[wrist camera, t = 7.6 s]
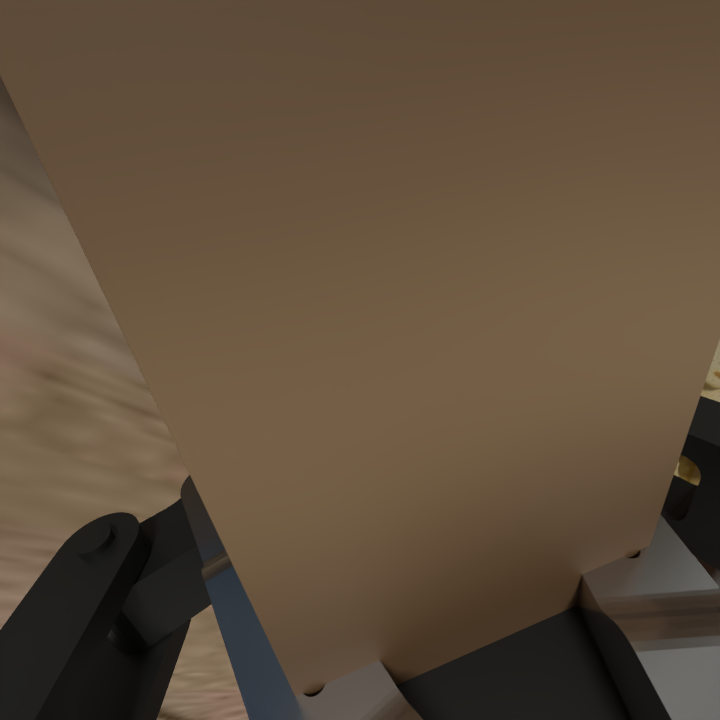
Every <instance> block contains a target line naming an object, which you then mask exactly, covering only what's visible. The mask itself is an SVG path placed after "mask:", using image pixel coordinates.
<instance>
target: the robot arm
mask: <svg viewBox="0 0 720 720" xmlns="http://www.w3.org/2000/svg"><path fill="white" fill-rule="evenodd" d="M681 455H683V456H685V457H687V458H688V459H690V460H691V461H692V462H693V463H694V464H695V465H696V466H697V467H698V469H699V471H700V474H701V478H700V482H699V484H698V485H695V484H692V483H690V482H688V481H686V480H684V479H682V478H680V477H678V476H676V475H673V478H672V481H671V484H670V487H669V490H668V493H667V496H666V499H665V502H664V505H663V508H662V511H661V514H660V517H659V520H658V523H657V526H656V529H655V532H654V534H653V537H652V540H651V543H650V546H647V547H645V548H643V549H640V551H639V554H638V557H637V558H627V557H621V558H619V559H617V560H614V561H612V562H610V563H607V564H605V565H603V566H600V567H598V568H596V569H593V570H591V571H589V572H586V573H584V574H582V578H581V582H580V587H579V591H578V596H577V600H576V601H577V603H578V605H576V606H574V607H572V608H570V609H567V610H565V611H563V612H561V613H558V614H556V615H554V616H552V617H549V618H547V619H545V620H543V621H540V622H538V623H536V624H534V625H531V626H529V627H527V628H525V629H522V630H520V631H518V632H515V633H513V634H511V635H509V636H506V637H504V638H502V639H500V640H497V641H495V642H493V643H491V644H488V645H486V646H484V647H482V648H479V649H477V650H475V651H473V652H470V653H468V654H466V655H464V656H461V657H459V658H457V659H454V660H452V661H450V662H448V663H445V664H443V665H441V666H439V667H436V668H434V669H432V670H430V671H427V672H425V673H423V674H421V675H418V676H416V677H414V678H412V679H409V680H407V681H405V682H403V683H400V684H398V685H395V683H394V682H393V680H392V678H391V677H390V675H389V674H388V672H387V671H386V669H385V668H384V666H383V664H382V663H381V661H378V662H375V663H373V664H370V665H368V666H366V667H363V668H361V669H359V670H356V671H354V672H352V673H349V674H347V675H345V676H342V677H340V678H338V679H335V680H333V681H331V682H328V683H326V684H325V686H324V688H323V690H322V691H321V692H320V693H319V694H318V695H316V696H313V697H308V696H306V695H304V694H303V693H302V694H300V695H298V696H295V695H294V693H293V691H292V688H291V686H290V684H289V682H288V680H287V678H286V676H285V674H284V672H283V670H282V667H281V665H280V663H279V661H278V659H277V657H276V655H275V653H274V651H273V648H272V646H271V644H270V642H269V640H268V638H267V636H266V634H265V632H264V630H263V627H262V625H261V623H260V621H259V619H258V617H257V615H256V613H255V611H254V609H253V606H252V604H251V602H250V600H249V598H248V596H247V594H246V592H245V590H244V587H243V585H242V583H241V581H240V579H239V577H238V575H237V573H236V571H235V569H234V566H233V564H232V562H231V560H230V558H229V556H228V554H227V552H226V550H225V547H224V545H223V543H222V541H221V539H220V537H219V535H218V533H217V531H216V529H215V526H214V524H213V522H212V520H211V518H210V516H209V514H208V512H207V510H206V508H205V505H204V503H203V501H202V499H201V497H200V495H199V493H198V491H197V489H196V486H195V484H194V482H193V480H192V478H191V476H190V475H189V476H188V477H187V478H186V480H185V481H184V483H183V485H182V488H181V493H180V495H181V498H180V499H179V500H178V501H177V502H175V503H174V504H173V505H171V506H170V507H168V508H166V509H165V510H163V511H161V512H159V513H157V514H156V515H154V516H152V517H150V518H148V519H147V520H145V521H143V522H141V523H139V522H138V520H137V519H136V517H135V516H133V515H132V514H129V513H124V512H121V513H112V514H108V515H105V516H102V517H100V518H98V519H96V520H94V521H92V522H90V523H88V524H87V525H85V526H83V527H82V528H81V529H79V530H78V531H77V532H75V533H74V534H73V535H72V536H71V537H70V538H69V539H68V540H67V541H66V542H65V543H64V544H63V545H62V547H61V548H60V549H59V550H58V552H57V553H56V555H55V556H54V557H53V559H52V560H51V561H50V563H49V564H48V566H47V567H46V568H45V570H44V571H43V572H42V574H41V575H40V576H39V578H38V579H37V581H36V582H35V583H34V585H33V586H32V587H31V589H30V590H29V592H28V593H27V594H26V596H25V597H24V598H23V600H22V601H21V602H20V604H19V605H18V607H17V608H16V609H15V611H14V612H13V613H12V615H11V616H10V618H9V619H8V620H7V622H6V623H5V624H4V626H3V627H2V628H1V630H0V720H156V719H157V716H158V714H159V711H160V708H161V705H162V702H163V699H164V696H165V694H166V691H167V688H168V685H169V682H170V679H171V677H172V674H173V671H174V668H175V665H176V662H177V659H178V657H179V654H180V651H181V648H182V645H183V642H184V640H185V637H186V634H187V631H188V628H189V625H190V621H191V618H192V617H194V616H195V615H197V614H198V613H199V612H201V611H202V610H204V609H205V608H207V607H208V606H209V605H211V604H212V606H213V610H214V613H215V616H216V619H217V622H218V625H219V628H220V631H221V634H222V637H223V640H224V643H225V646H226V649H227V652H228V656H229V659H230V662H231V665H232V668H233V671H234V674H235V677H236V680H237V683H238V686H239V689H240V692H241V695H242V698H243V702H244V705H245V708H246V711H247V714H248V717H249V720H720V587H718V586H717V584H716V583H715V582H714V581H713V579H712V578H711V577H710V576H709V574H708V573H707V572H706V571H705V569H704V568H703V567H702V566H701V564H700V563H699V562H698V561H697V559H696V558H695V557H694V556H693V555H695V556H696V557H698V558H700V559H702V560H703V561H705V562H707V563H708V564H710V565H712V566H713V567H715V568H717V569H718V570H720V402H718V401H715V400H712V399H709V398H706V397H703V396H700V399H699V402H698V405H697V408H696V410H695V413H694V416H693V419H692V422H691V425H690V428H689V431H688V434H687V437H686V440H685V443H684V446H683V449H682V452H681Z"/></svg>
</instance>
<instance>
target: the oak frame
mask: <svg viewBox="0 0 720 720" xmlns="http://www.w3.org/2000/svg"><path fill="white" fill-rule="evenodd" d="M0 76H1V78H2V80H3V83H4V85H5V87H6V89H7V91H8V93H9V95H10V97H11V99H12V101H13V104H14V106H15V108H16V110H17V112H18V114H19V116H20V118H21V120H22V123H23V125H24V127H25V129H26V131H27V133H28V135H29V137H30V139H31V141H32V144H33V146H34V148H35V150H36V152H37V154H38V156H39V158H40V160H41V162H42V165H43V167H44V169H45V171H46V173H47V175H48V177H49V179H50V181H51V184H52V186H53V188H54V190H55V192H56V194H57V196H58V198H59V200H60V202H61V205H62V207H63V209H64V211H65V213H66V215H67V217H68V219H69V221H70V224H71V226H72V228H73V230H74V232H75V234H76V236H77V238H78V240H79V242H80V245H81V247H82V249H83V251H84V253H85V255H86V257H87V259H88V261H89V263H90V266H91V268H92V270H93V272H94V274H95V276H96V278H97V280H98V282H99V285H100V287H101V289H102V291H103V293H104V295H105V297H106V299H107V301H108V303H109V306H110V308H111V310H112V312H113V314H114V316H115V318H116V320H117V322H118V324H119V327H120V329H121V331H122V333H123V335H124V337H125V339H126V341H127V343H128V346H129V348H130V350H131V352H132V354H133V356H134V358H135V360H136V362H137V364H138V367H139V369H140V371H141V373H142V375H143V377H144V379H145V381H146V383H147V385H148V388H149V390H150V392H151V394H152V396H153V398H154V400H155V402H156V404H157V407H158V409H159V411H160V413H161V415H162V417H163V419H164V421H165V423H166V425H167V428H168V430H169V432H170V434H171V436H172V438H173V440H174V442H175V444H176V447H177V449H178V451H179V453H180V455H181V457H182V459H183V461H184V463H185V465H186V468H187V470H188V472H189V474H190V476H191V478H192V480H193V482H194V484H195V486H196V489H197V491H198V493H199V495H200V497H201V499H202V501H203V503H204V505H205V508H206V510H207V512H208V514H209V516H210V518H211V520H212V522H213V524H214V526H215V529H216V531H217V533H218V535H219V537H220V539H221V541H222V543H223V545H224V547H225V550H226V552H227V554H228V556H229V558H230V560H231V562H232V564H233V566H234V569H235V571H236V573H237V575H238V577H239V579H240V581H241V583H242V585H243V587H244V590H245V592H246V594H247V596H248V598H249V600H250V602H251V604H252V606H253V609H254V611H255V613H256V615H257V617H258V619H259V621H260V623H261V625H262V627H263V630H264V632H265V634H266V636H267V638H268V640H269V642H270V644H271V646H272V648H273V651H274V653H275V655H276V657H277V659H278V661H279V663H280V665H281V667H282V670H283V672H284V674H285V676H286V678H287V680H288V682H289V684H290V686H291V688H292V691H293V693H294V695H295V696H298V695H300V694H302V693H303V694H304V695H306V696H308V697H313V696H316V695H318V694H319V693H320V692H321V691H322V690H323V688H324V686H325V684H326V683H328V682H331V681H333V680H335V679H338V678H340V677H342V676H345V675H347V674H349V673H352V672H354V671H356V670H359V669H361V668H363V667H366V666H368V665H370V664H373V663H375V662H378V661H381V663H382V664H383V666H384V668H385V669H386V671H387V672H388V674H389V675H390V677H391V678H392V680H393V682H394V683H395V685H398V684H400V683H403V682H405V681H407V680H409V679H412V678H414V677H416V676H418V675H421V674H423V673H425V672H427V671H430V670H432V669H434V668H436V667H439V666H441V665H443V664H445V663H448V662H450V661H452V660H454V659H457V658H459V657H461V656H464V655H466V654H468V653H470V652H473V651H475V650H477V649H479V648H482V647H484V646H486V645H488V644H491V643H493V642H495V641H497V640H500V639H502V638H504V637H506V636H509V635H511V634H513V633H515V632H518V631H520V630H522V629H525V628H527V627H529V626H531V625H534V624H536V623H538V622H540V621H543V620H545V619H547V618H549V617H552V616H554V615H556V614H558V613H561V612H563V611H565V610H567V609H570V608H572V607H574V606H576V605H578V603H577V601H576V600H577V596H578V591H579V587H580V582H581V578H582V574H584V573H586V572H589V571H591V570H593V569H596V568H598V567H600V566H603V565H605V564H607V563H610V562H612V561H614V560H617V559H619V558H621V557H627V558H637V557H638V554H639V551H640V549H643V548H645V547H647V546H650V543H651V540H652V537H653V534H654V532H655V529H656V526H657V523H658V520H659V517H660V514H661V511H662V508H663V505H664V502H665V499H666V496H667V493H668V490H669V487H670V484H671V481H672V478H673V475H674V472H675V470H676V467H677V464H678V461H679V458H680V455H681V452H682V449H683V446H684V443H685V440H686V437H687V434H688V431H689V428H690V425H691V422H692V419H693V416H694V413H695V410H696V408H697V405H698V402H699V399H700V396H701V393H702V390H703V387H704V384H705V381H706V378H707V375H708V372H709V369H710V366H711V363H712V360H713V357H714V354H715V351H716V348H717V346H718V343H719V340H720V0H0Z"/></svg>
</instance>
